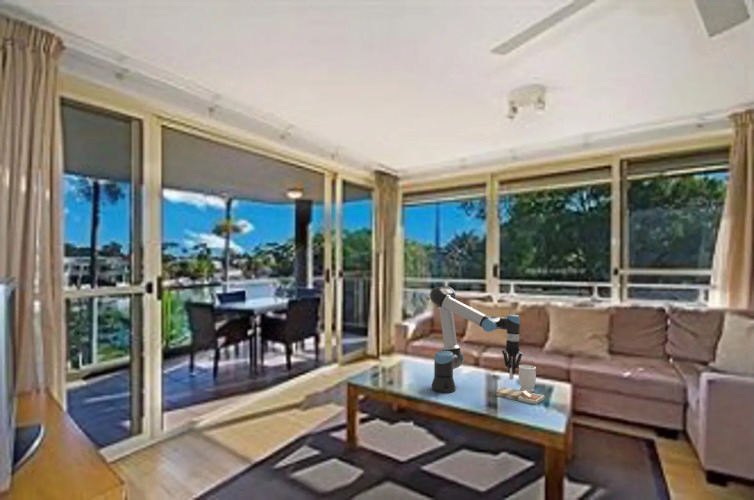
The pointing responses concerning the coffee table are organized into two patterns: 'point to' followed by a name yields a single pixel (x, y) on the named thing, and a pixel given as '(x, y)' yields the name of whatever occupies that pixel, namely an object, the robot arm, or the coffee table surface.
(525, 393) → the tile rear
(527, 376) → the jar
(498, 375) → the coffee table surface
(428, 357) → the coffee table surface
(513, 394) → the board
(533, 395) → the tile front
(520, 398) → the tray
